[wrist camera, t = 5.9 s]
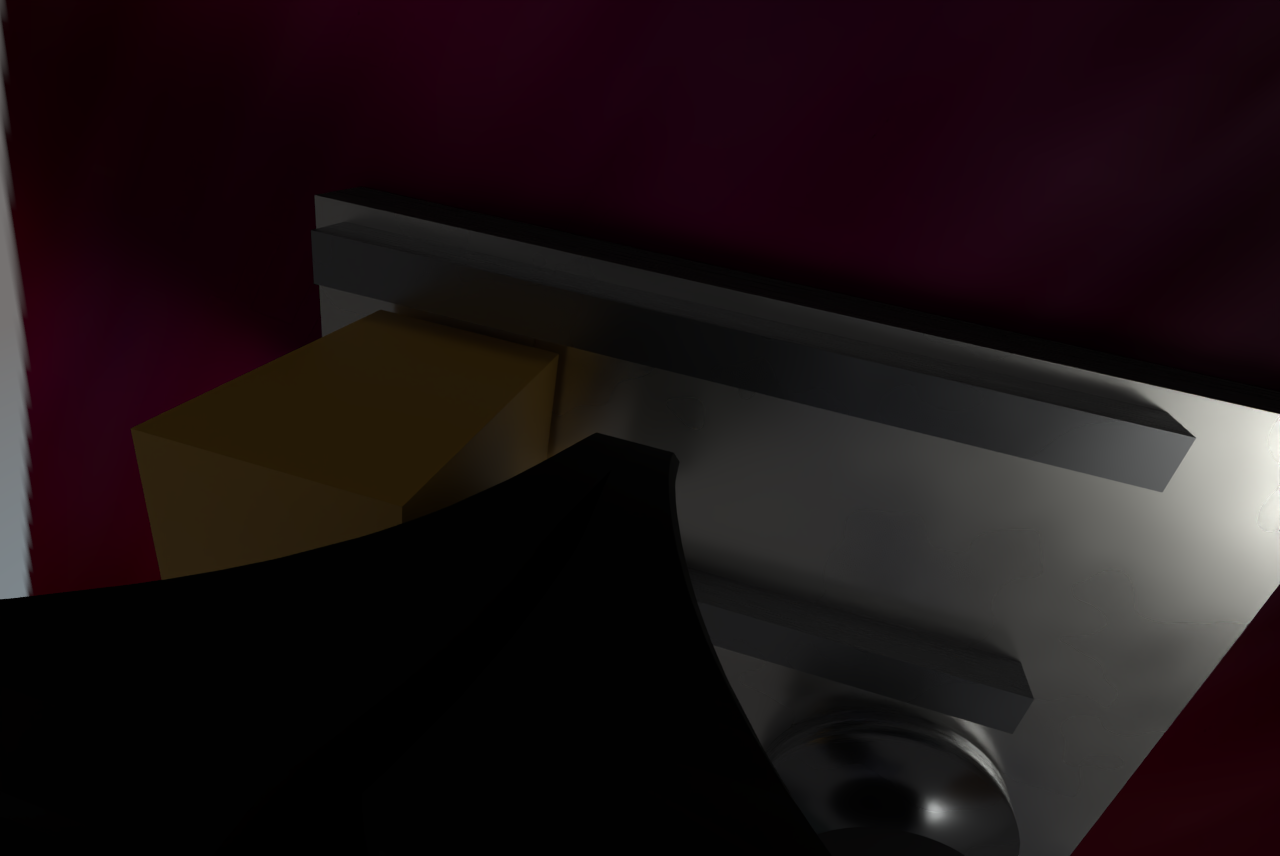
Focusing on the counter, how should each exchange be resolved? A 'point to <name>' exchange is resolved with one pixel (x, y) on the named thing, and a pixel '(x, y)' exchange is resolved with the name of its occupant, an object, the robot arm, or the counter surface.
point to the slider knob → (341, 441)
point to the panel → (884, 511)
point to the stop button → (882, 843)
